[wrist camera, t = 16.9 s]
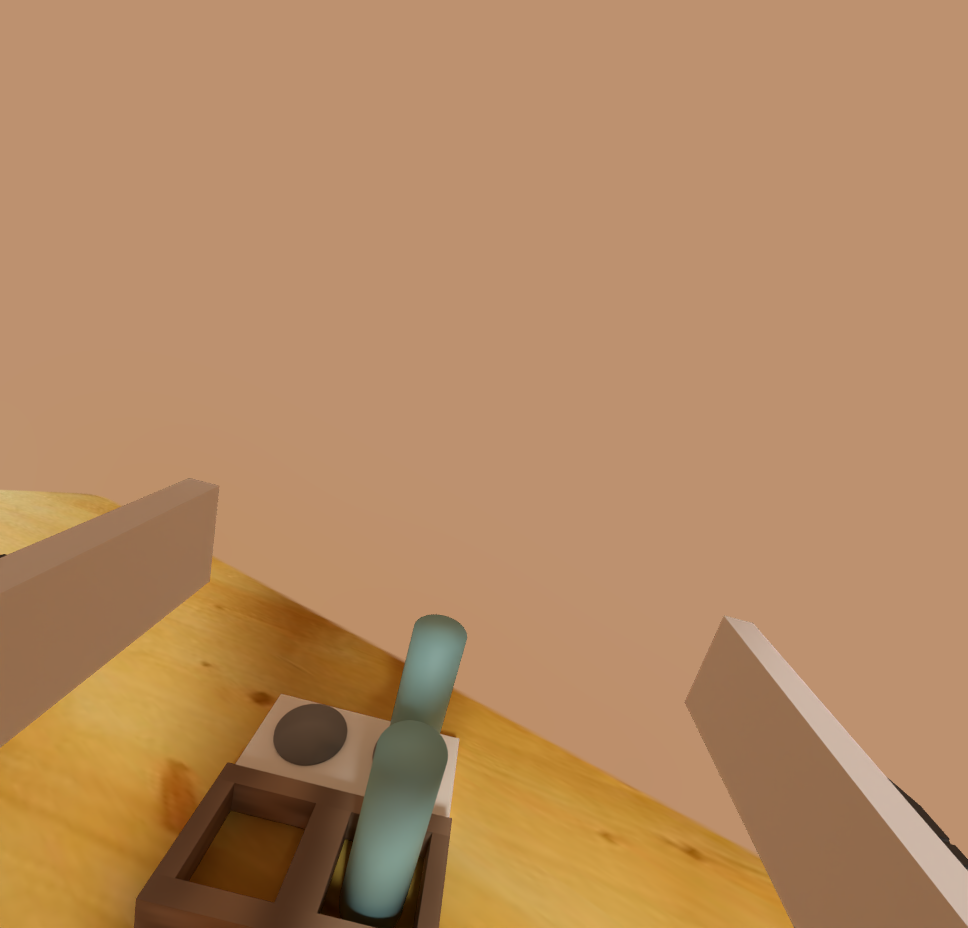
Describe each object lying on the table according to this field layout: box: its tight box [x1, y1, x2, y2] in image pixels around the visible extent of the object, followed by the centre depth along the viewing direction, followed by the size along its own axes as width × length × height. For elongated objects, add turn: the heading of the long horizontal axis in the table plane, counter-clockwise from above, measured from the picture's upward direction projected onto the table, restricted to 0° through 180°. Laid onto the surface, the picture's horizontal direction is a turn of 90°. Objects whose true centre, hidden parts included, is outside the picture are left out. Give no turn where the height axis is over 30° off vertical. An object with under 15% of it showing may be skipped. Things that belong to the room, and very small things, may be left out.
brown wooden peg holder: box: [134, 763, 452, 928], centre depth 28 cm, size 16×8×2 cm, turn 85°
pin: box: [390, 615, 467, 734], centre depth 35 cm, size 4×4×12 cm
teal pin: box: [339, 720, 448, 928], centre depth 27 cm, size 4×4×12 cm
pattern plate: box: [236, 694, 459, 818], centre depth 36 cm, size 16×8×1 cm, turn 85°
